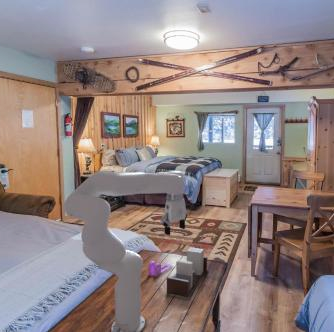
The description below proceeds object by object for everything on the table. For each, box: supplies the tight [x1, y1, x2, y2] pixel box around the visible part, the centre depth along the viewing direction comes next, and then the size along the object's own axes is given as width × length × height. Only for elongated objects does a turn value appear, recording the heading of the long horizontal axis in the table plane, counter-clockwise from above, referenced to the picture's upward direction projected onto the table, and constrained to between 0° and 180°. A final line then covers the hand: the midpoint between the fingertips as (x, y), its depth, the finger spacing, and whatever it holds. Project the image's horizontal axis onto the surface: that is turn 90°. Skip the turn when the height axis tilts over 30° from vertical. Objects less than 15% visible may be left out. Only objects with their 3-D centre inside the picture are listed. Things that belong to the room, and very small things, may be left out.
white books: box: [186, 246, 205, 275], centre depth 148 cm, size 4×8×13 cm, turn 76°
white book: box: [175, 259, 193, 288], centre depth 135 cm, size 2×8×13 cm, turn 76°
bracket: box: [148, 260, 172, 277], centre depth 151 cm, size 13×6×7 cm, turn 149°
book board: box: [166, 255, 208, 298], centre depth 140 cm, size 26×11×9 cm, turn 166°
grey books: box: [171, 270, 196, 291], centre depth 134 cm, size 10×9×7 cm
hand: (175, 231), depth 130 cm, fingers open, 9 cm apart
